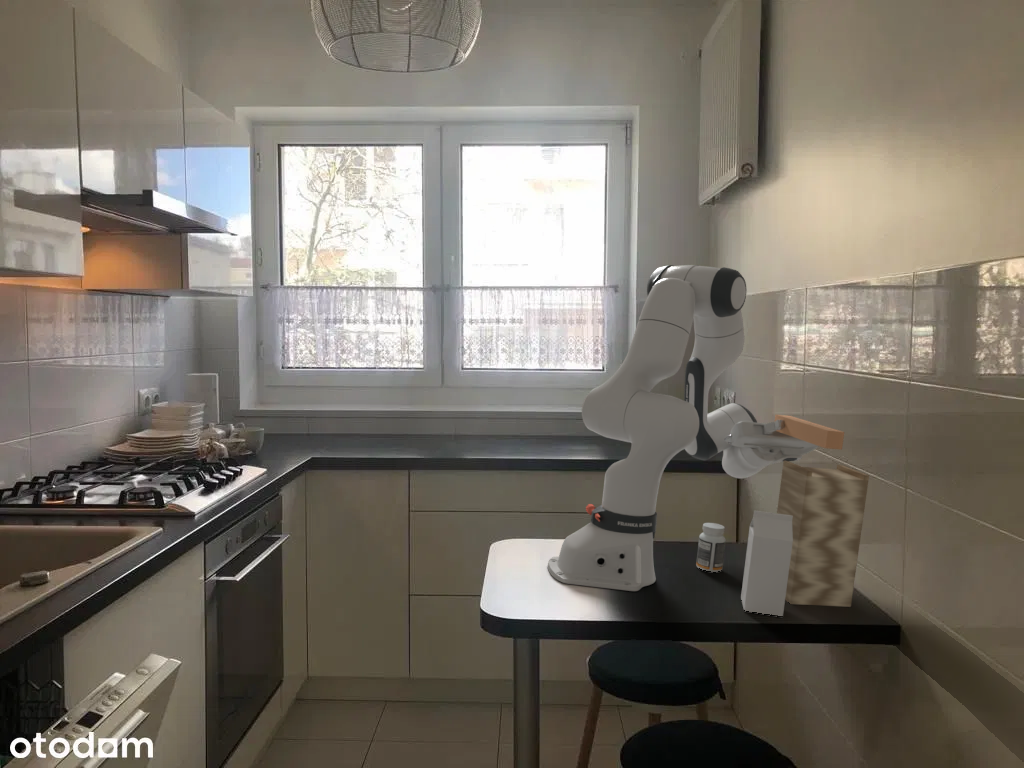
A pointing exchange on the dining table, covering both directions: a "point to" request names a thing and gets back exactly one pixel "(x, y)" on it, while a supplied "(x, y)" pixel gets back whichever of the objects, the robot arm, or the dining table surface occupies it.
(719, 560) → the pill bottle
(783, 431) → the bar
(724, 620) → the dining table surface
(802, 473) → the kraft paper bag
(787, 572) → the milk carton
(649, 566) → the robot arm
